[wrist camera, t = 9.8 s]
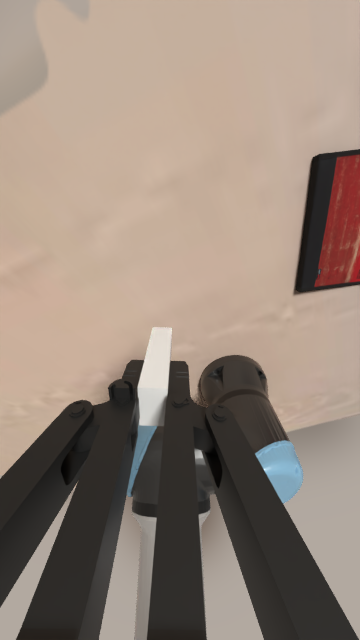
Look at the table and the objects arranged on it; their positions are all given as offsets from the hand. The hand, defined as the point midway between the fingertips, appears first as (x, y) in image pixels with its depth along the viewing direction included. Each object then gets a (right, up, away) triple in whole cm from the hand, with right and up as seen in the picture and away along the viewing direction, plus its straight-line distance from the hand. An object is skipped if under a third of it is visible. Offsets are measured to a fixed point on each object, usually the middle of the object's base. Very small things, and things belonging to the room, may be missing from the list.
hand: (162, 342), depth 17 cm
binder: (+31, +18, +19) cm, 40 cm away
